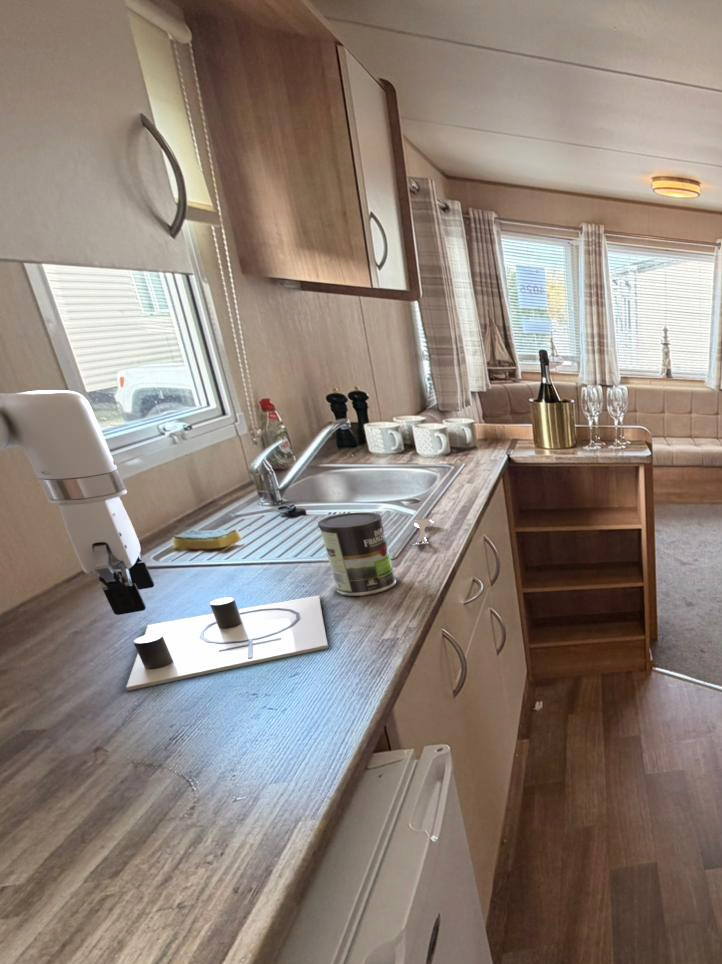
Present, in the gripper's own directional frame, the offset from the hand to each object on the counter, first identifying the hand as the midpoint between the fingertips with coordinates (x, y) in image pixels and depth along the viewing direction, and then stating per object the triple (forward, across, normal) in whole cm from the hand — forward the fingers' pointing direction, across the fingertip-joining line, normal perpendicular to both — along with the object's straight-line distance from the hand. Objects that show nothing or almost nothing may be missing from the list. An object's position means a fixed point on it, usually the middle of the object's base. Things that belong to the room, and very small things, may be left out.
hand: (136, 599), depth 94 cm
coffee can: (+12, -20, +28) cm, 37 cm away
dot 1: (+11, 0, -1) cm, 11 cm away
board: (+12, -6, +8) cm, 15 cm away
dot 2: (+11, -11, +8) cm, 17 cm away
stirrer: (+12, -46, +42) cm, 64 cm away
